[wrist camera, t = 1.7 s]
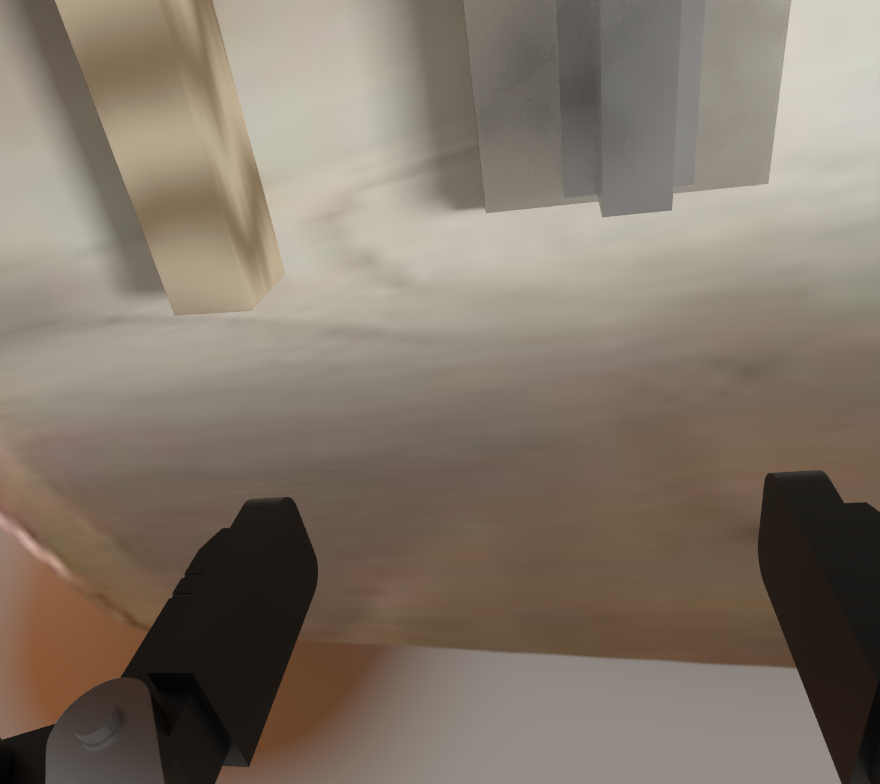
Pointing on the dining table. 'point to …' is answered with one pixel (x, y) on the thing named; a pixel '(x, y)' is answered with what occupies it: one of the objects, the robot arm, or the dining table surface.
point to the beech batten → (179, 146)
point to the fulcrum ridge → (623, 98)
